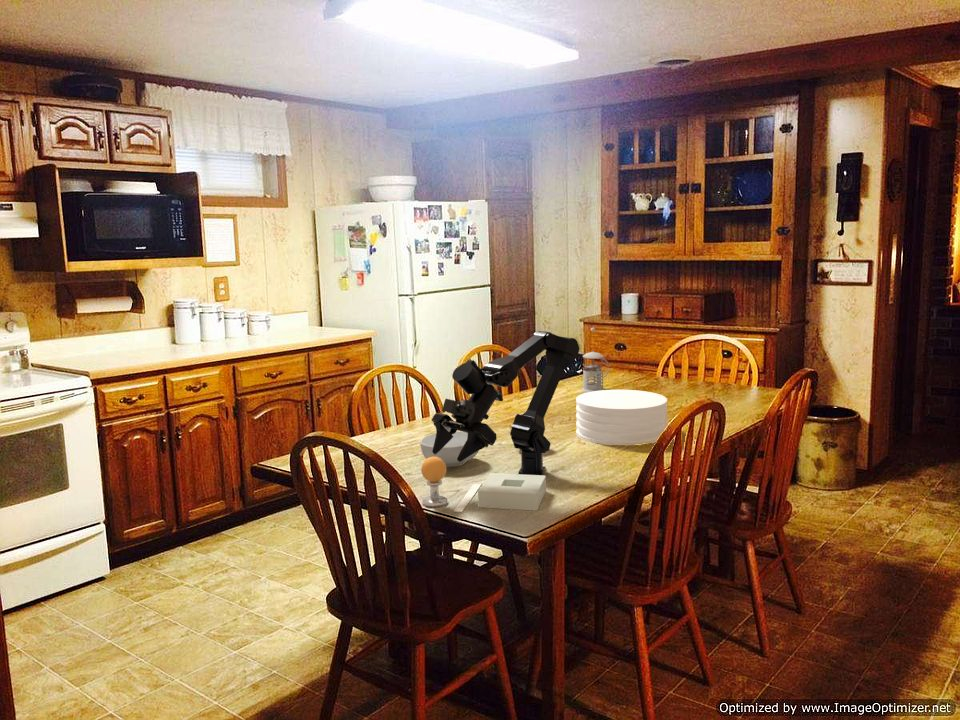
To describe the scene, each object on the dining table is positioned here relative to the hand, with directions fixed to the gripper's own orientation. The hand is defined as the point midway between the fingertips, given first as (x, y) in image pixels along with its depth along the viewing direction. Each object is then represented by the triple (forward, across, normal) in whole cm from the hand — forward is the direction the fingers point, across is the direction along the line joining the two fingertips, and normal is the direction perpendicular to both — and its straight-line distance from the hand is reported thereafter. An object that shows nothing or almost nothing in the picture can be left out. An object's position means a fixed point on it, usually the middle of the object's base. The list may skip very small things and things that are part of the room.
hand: (445, 457), depth 194 cm
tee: (+10, 0, +5) cm, 11 cm away
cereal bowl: (-7, -23, +22) cm, 33 cm away
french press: (-81, -55, +95) cm, 136 cm away
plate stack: (-47, -6, +62) cm, 78 cm away
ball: (+4, 0, -1) cm, 4 cm away
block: (0, +12, +15) cm, 19 cm away
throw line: (+4, +3, +10) cm, 12 cm away
